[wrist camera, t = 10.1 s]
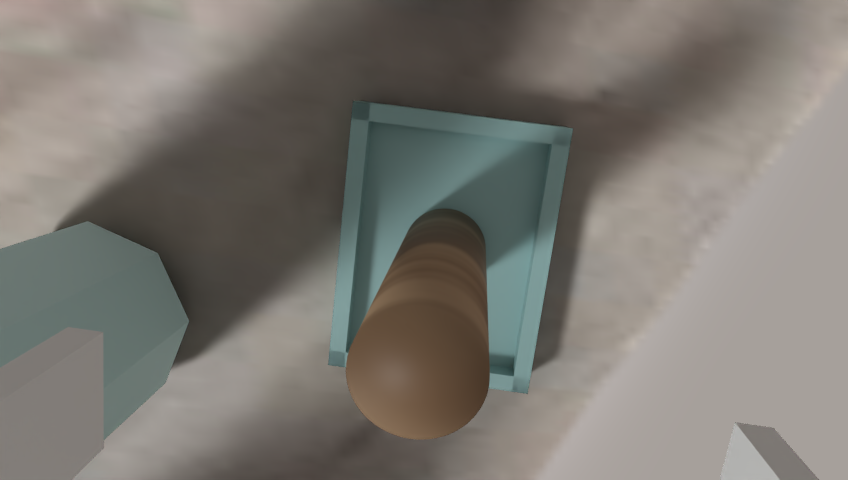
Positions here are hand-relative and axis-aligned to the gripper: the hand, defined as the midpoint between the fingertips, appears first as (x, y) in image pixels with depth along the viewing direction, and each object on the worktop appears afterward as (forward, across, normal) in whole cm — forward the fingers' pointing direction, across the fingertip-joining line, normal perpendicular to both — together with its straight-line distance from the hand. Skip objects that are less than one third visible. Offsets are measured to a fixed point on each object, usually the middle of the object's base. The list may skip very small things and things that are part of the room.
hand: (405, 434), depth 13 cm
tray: (+19, 0, -1) cm, 19 cm away
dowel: (+18, 0, -1) cm, 18 cm away
